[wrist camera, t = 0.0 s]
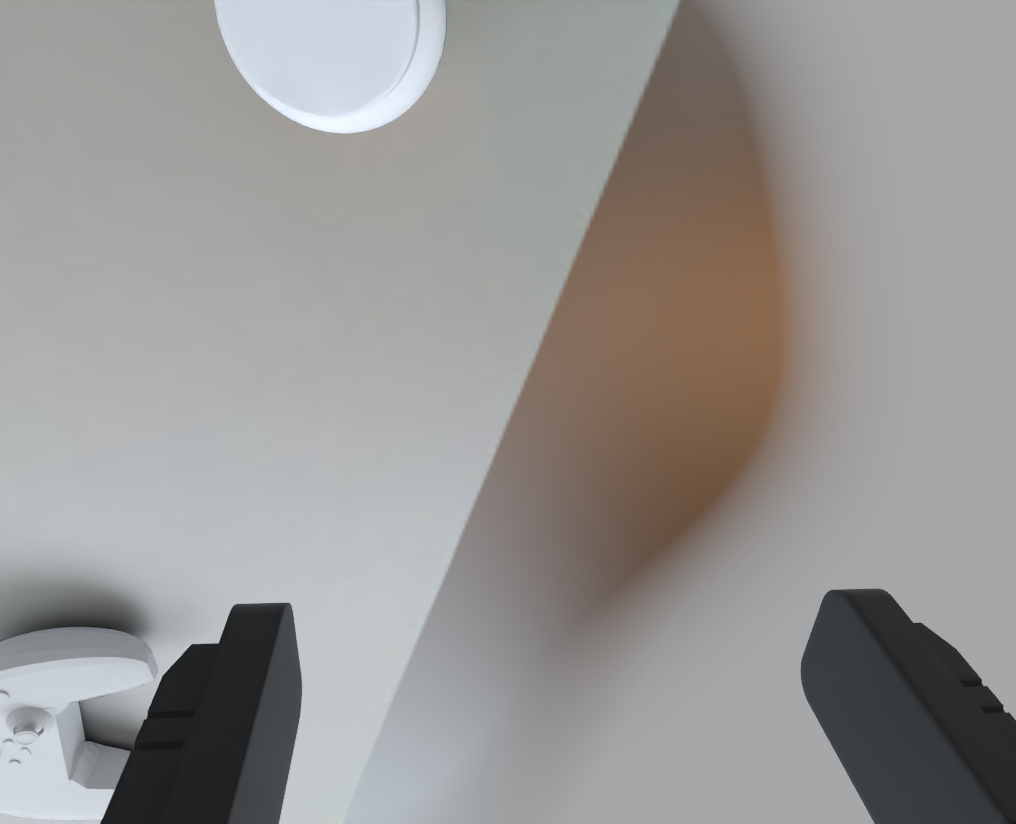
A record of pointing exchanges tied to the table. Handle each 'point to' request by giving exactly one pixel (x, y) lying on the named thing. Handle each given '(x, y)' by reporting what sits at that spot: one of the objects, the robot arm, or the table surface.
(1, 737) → the game controller
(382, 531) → the table surface
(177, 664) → the robot arm
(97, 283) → the table surface
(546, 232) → the table surface
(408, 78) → the pill bottle
